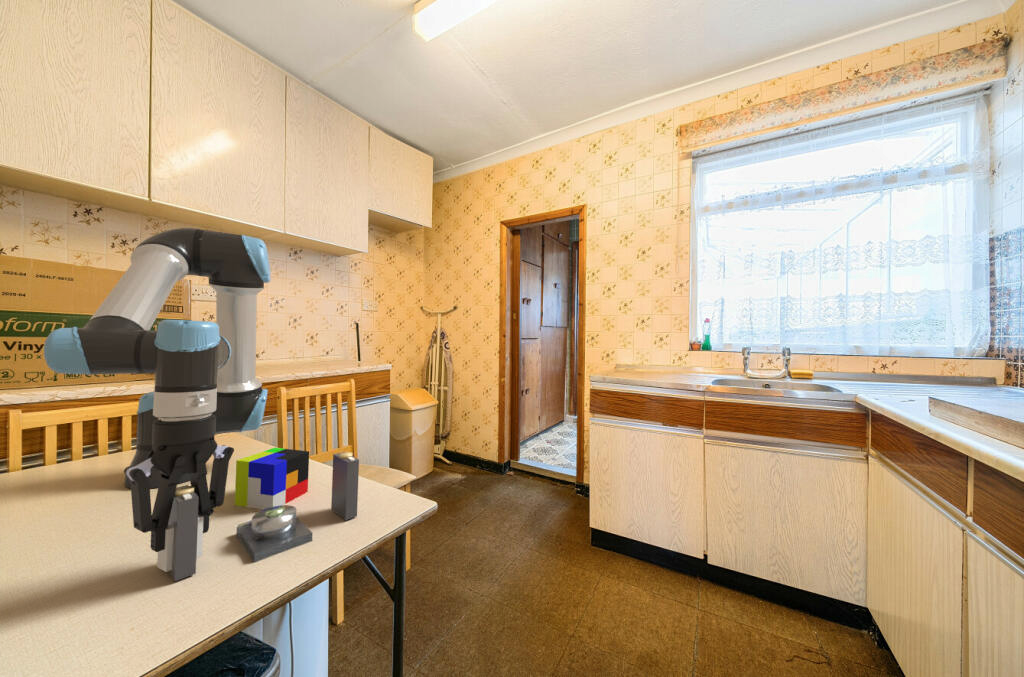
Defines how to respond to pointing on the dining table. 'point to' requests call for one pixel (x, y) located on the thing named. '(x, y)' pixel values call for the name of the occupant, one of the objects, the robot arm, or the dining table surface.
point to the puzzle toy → (271, 478)
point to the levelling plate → (275, 543)
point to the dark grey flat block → (184, 532)
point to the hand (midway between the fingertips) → (180, 561)
